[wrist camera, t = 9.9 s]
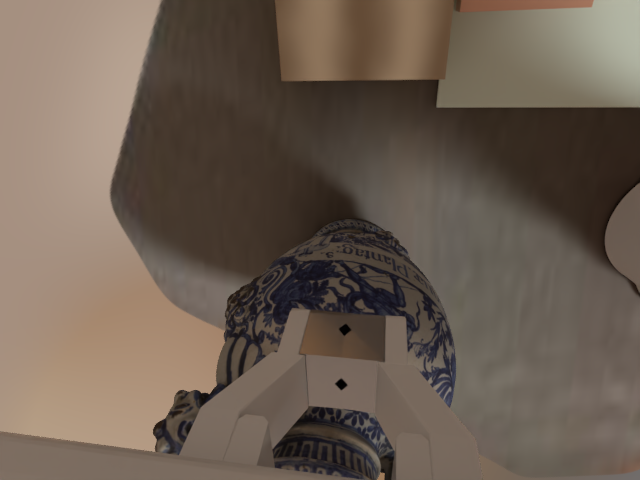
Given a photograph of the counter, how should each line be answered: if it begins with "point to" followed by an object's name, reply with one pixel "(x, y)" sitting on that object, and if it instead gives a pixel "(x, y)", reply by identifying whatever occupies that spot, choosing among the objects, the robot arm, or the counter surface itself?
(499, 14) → the mat
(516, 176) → the counter surface
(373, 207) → the counter surface
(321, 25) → the tan flat block
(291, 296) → the decorative vase
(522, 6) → the tile
